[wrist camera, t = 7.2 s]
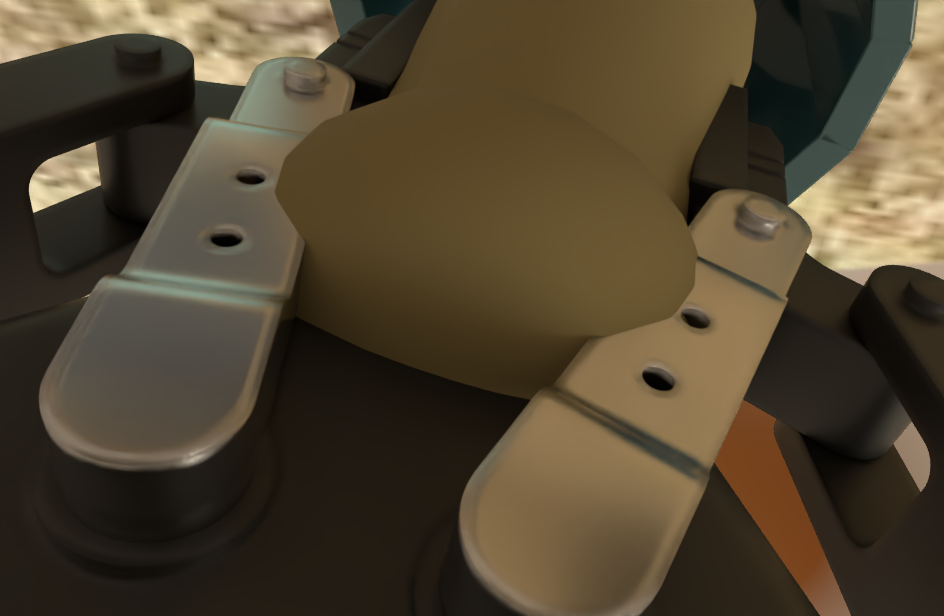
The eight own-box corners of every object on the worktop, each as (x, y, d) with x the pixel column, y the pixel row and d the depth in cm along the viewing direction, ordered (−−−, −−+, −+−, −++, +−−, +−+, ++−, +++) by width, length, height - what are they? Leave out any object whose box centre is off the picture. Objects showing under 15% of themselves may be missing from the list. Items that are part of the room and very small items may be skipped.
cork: (765, 166, 16) (783, 693, 8) (482, 195, 18) (255, 630, 10) (745, -176, 13) (741, 93, 4) (403, -91, 15) (-39, 199, 7)
